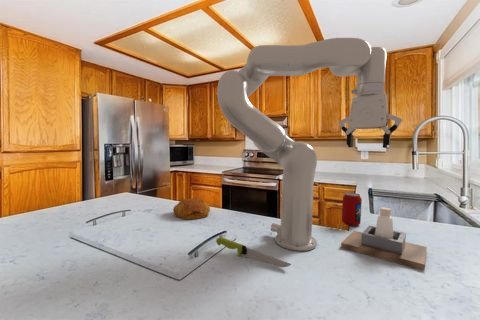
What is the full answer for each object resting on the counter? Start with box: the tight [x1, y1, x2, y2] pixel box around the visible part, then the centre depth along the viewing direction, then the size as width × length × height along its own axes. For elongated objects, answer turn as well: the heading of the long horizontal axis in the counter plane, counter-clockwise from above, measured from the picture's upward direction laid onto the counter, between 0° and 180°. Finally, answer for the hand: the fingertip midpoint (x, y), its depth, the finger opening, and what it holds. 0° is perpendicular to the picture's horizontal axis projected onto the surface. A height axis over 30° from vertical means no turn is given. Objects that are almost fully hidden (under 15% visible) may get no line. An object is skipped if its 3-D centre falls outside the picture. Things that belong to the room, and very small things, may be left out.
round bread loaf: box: [172, 197, 211, 220], centre depth 103 cm, size 14×16×8 cm
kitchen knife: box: [215, 237, 292, 268], centre depth 64 cm, size 22×1×3 cm, turn 60°
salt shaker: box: [375, 206, 394, 239], centre depth 71 cm, size 5×5×11 cm
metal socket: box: [361, 225, 407, 255], centre depth 71 cm, size 10×10×4 cm
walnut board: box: [340, 230, 428, 271], centre depth 72 cm, size 20×14×2 cm
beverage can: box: [341, 192, 363, 227], centre depth 95 cm, size 7×7×12 cm
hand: (367, 147), depth 74 cm, fingers open, 9 cm apart
